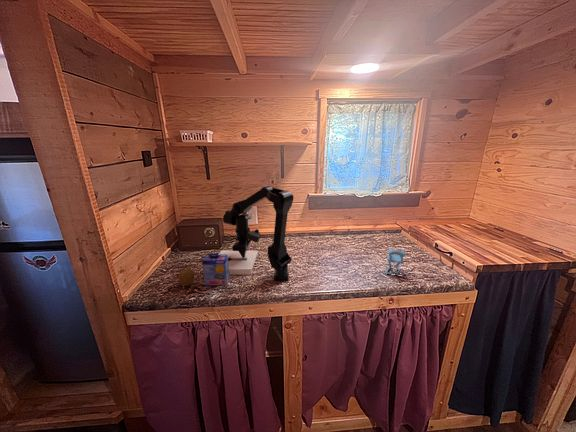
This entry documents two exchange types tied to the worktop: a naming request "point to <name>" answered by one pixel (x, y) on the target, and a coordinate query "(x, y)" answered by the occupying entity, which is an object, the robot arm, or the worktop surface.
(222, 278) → the ink cartridge box
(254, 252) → the keyhole board
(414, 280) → the worktop surface
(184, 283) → the fruit
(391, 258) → the chair
